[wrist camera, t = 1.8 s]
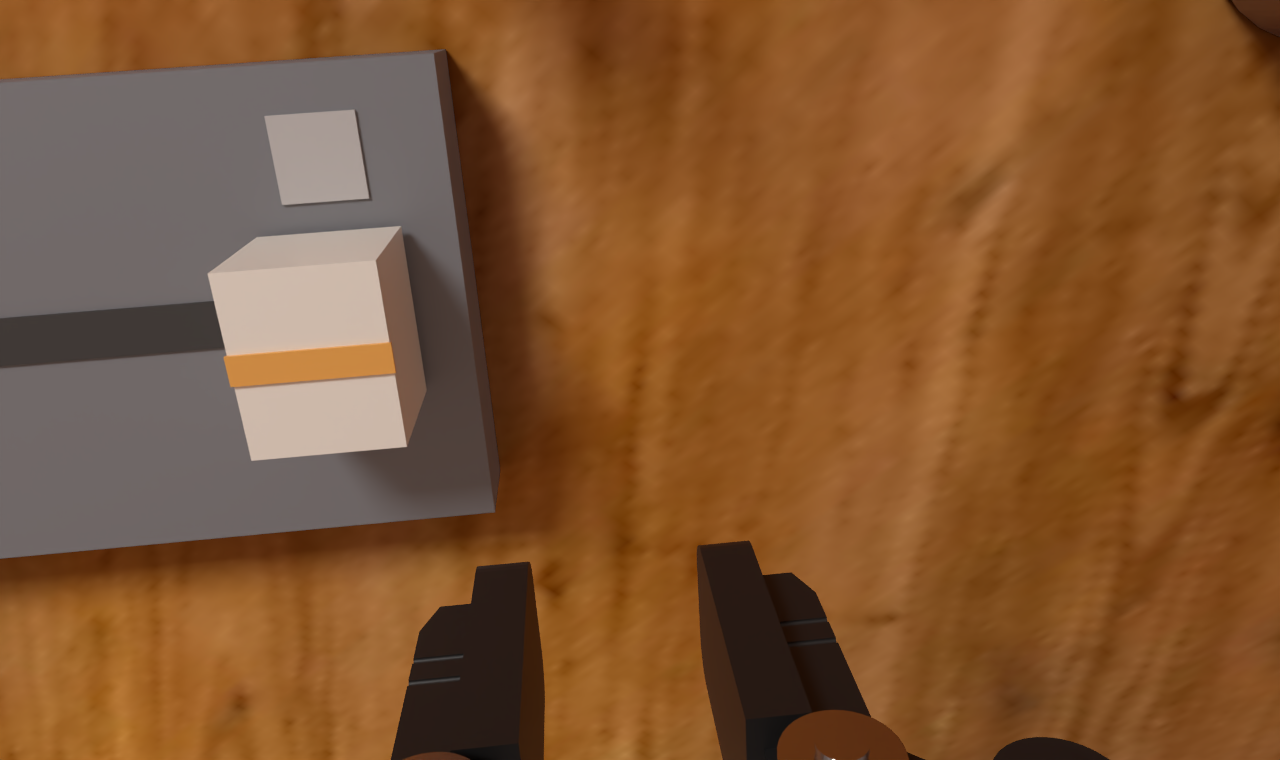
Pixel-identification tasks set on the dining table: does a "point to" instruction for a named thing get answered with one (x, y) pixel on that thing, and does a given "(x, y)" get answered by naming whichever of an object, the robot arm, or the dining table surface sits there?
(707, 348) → the dining table surface
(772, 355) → the dining table surface
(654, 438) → the dining table surface
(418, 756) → the robot arm
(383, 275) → the fader knob
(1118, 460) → the dining table surface
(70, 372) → the fader console
